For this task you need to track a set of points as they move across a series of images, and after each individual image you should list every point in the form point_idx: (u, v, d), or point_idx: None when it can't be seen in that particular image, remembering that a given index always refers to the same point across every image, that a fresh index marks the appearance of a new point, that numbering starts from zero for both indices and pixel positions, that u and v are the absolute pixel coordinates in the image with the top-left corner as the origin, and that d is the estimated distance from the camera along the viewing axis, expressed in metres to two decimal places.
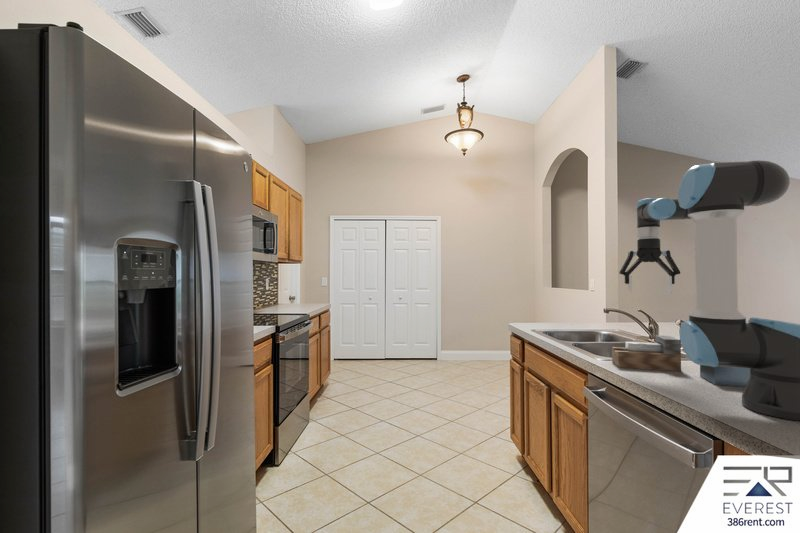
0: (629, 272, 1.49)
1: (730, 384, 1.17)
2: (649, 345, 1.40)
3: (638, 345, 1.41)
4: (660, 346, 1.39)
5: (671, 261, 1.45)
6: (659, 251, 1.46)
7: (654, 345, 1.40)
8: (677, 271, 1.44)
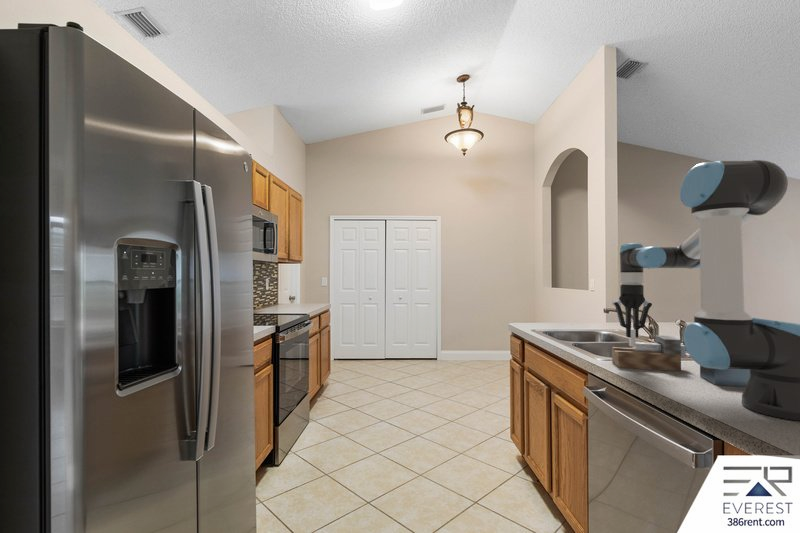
0: (629, 325, 1.42)
1: (730, 384, 1.17)
2: (657, 345, 1.39)
3: (646, 345, 1.40)
4: None
5: (645, 313, 1.41)
6: (643, 298, 1.41)
7: None
8: (642, 324, 1.41)
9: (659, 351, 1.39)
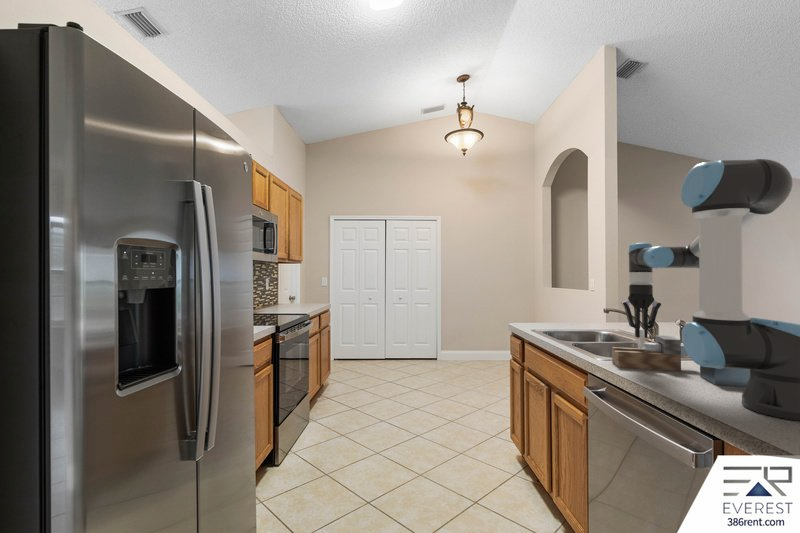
0: (638, 325, 1.42)
1: (730, 384, 1.17)
2: None
3: (655, 346, 1.40)
4: None
5: (654, 313, 1.40)
6: (652, 298, 1.41)
7: None
8: (651, 324, 1.41)
9: None
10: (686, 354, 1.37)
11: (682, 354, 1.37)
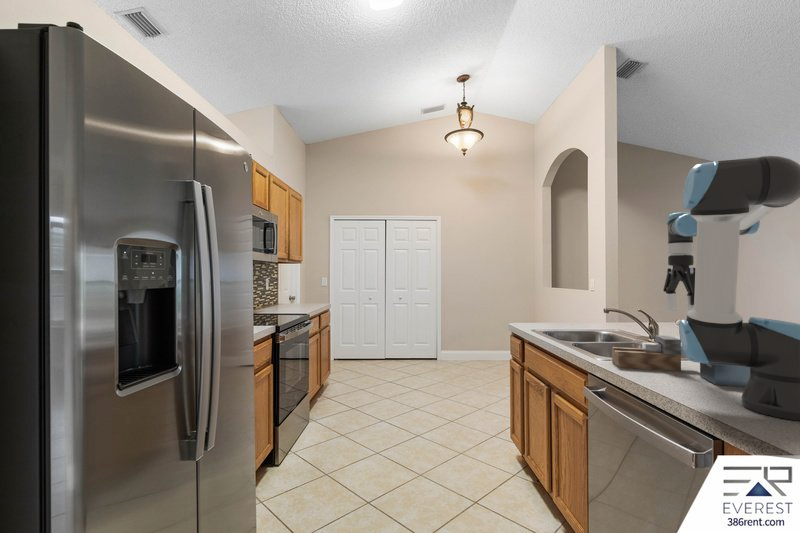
0: (667, 290, 1.46)
1: (730, 384, 1.17)
2: None
3: (656, 346, 1.39)
4: None
5: (688, 279, 1.32)
6: (682, 268, 1.36)
7: None
8: (692, 291, 1.30)
9: None
10: None
11: (682, 354, 1.37)
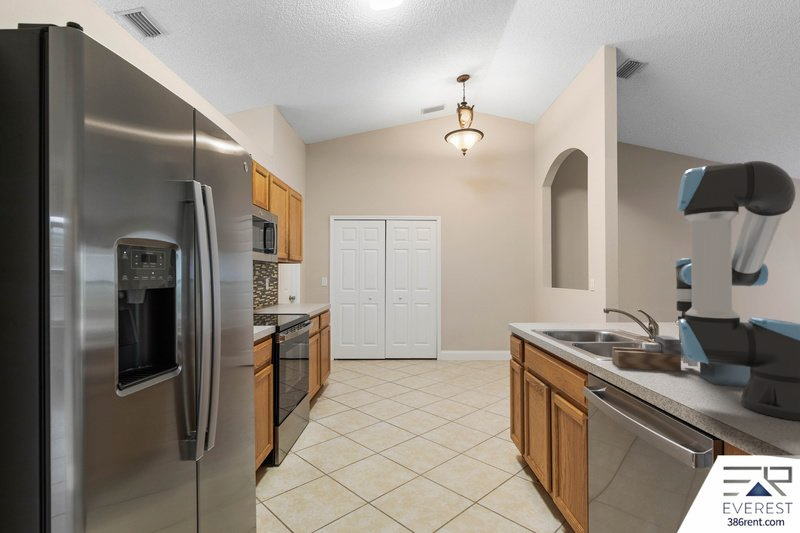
0: None
1: (730, 384, 1.17)
2: None
3: (655, 346, 1.40)
4: None
5: None
6: None
7: None
8: None
9: None
10: None
11: (682, 354, 1.37)
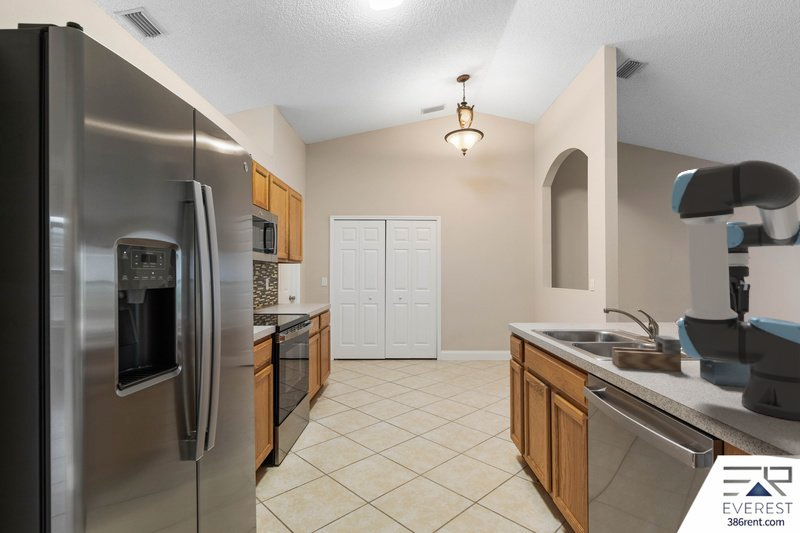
0: None
1: (730, 384, 1.17)
2: None
3: None
4: None
5: (739, 296, 1.30)
6: (737, 281, 1.31)
7: None
8: (739, 309, 1.30)
9: None
10: None
11: None
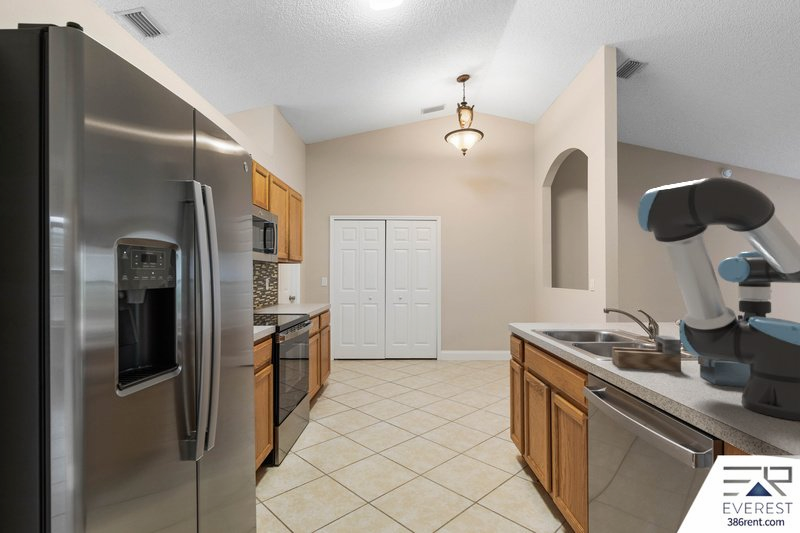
0: None
1: (730, 384, 1.17)
2: None
3: None
4: None
5: None
6: None
7: None
8: None
9: None
10: None
11: None
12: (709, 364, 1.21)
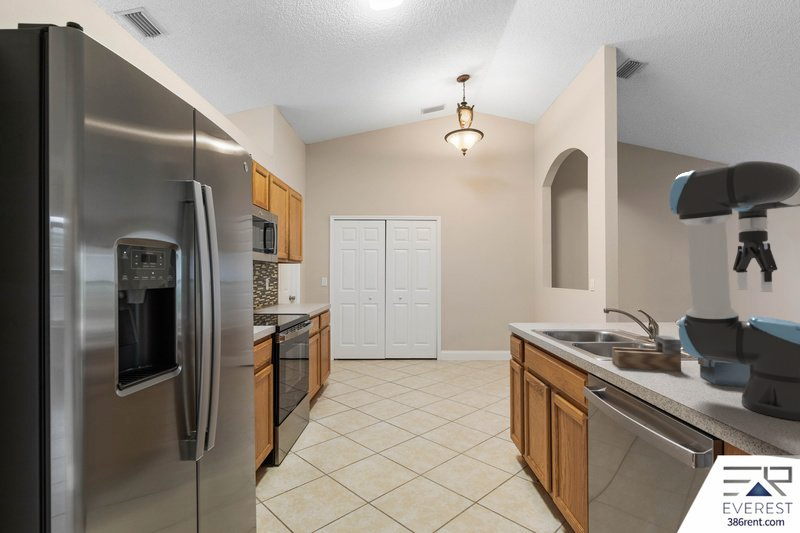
0: (737, 268, 1.40)
1: (730, 384, 1.17)
2: None
3: None
4: None
5: (762, 255, 1.27)
6: (755, 245, 1.30)
7: None
8: (766, 267, 1.25)
9: None
10: None
11: None
12: (709, 364, 1.21)
